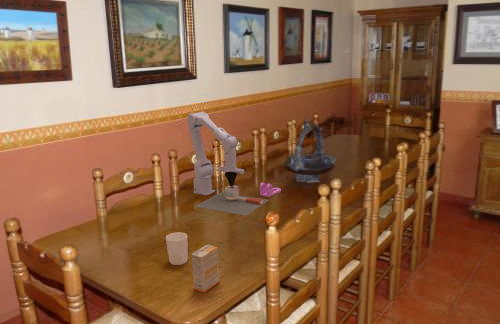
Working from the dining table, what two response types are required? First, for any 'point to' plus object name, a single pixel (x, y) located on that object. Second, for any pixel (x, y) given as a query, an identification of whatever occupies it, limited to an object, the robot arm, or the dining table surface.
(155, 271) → the dining table surface
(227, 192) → the pale pink cube
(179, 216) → the dining table surface
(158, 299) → the dining table surface
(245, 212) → the mat
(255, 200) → the ratchet
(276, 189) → the bracket
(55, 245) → the dining table surface
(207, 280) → the supplement box
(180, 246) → the white cup
